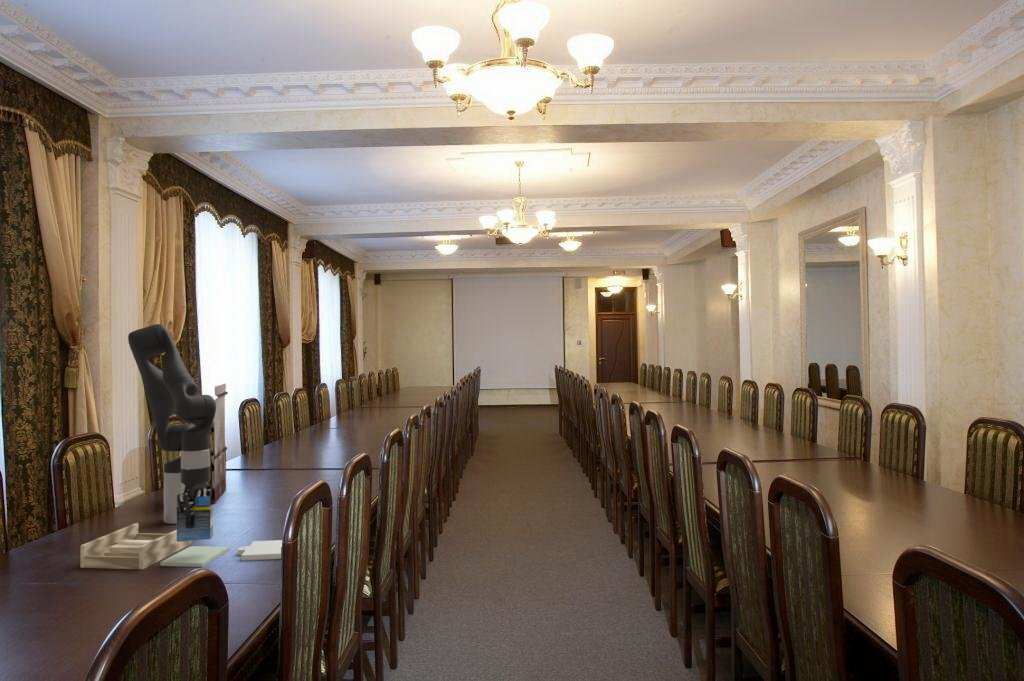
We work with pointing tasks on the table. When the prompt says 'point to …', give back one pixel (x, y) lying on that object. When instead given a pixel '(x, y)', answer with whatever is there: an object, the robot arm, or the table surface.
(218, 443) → the cherub statue
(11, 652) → the table surface
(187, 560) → the pad
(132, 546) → the offcut stack
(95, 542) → the wooden tray
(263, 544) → the mounting plate
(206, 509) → the label tape cartridge
